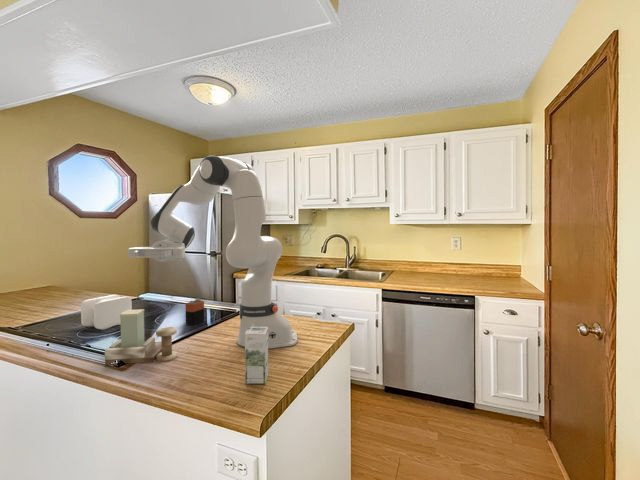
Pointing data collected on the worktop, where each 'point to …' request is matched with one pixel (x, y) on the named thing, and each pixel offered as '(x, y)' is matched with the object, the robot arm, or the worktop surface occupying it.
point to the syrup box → (256, 355)
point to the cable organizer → (104, 311)
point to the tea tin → (132, 328)
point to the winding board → (133, 352)
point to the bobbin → (166, 344)
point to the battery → (194, 312)
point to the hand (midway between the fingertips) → (149, 254)
